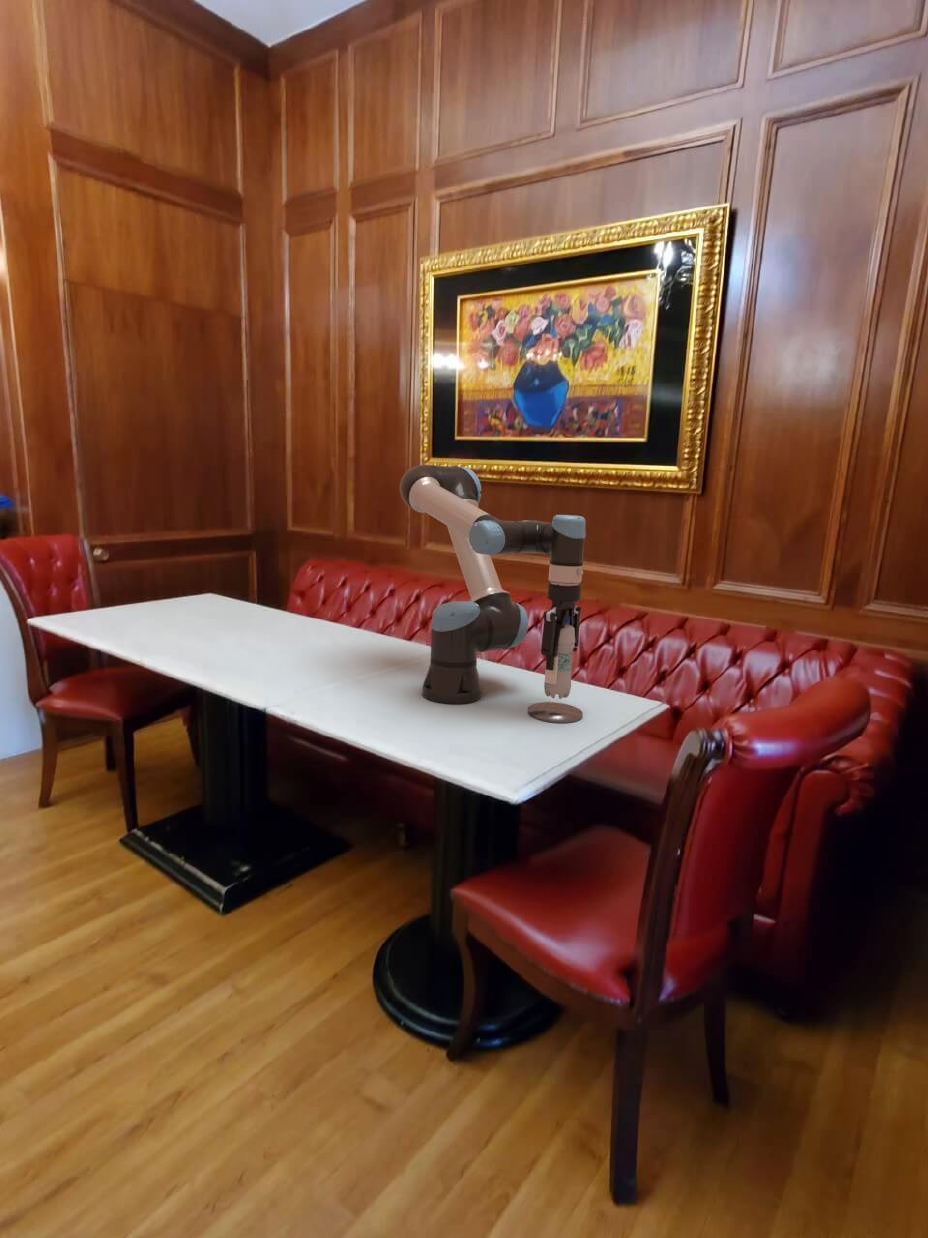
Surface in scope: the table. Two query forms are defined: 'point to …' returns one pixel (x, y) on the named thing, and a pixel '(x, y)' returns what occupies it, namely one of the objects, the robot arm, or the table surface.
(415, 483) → the robot arm
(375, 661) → the table surface
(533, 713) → the flange disc
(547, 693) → the bottle
